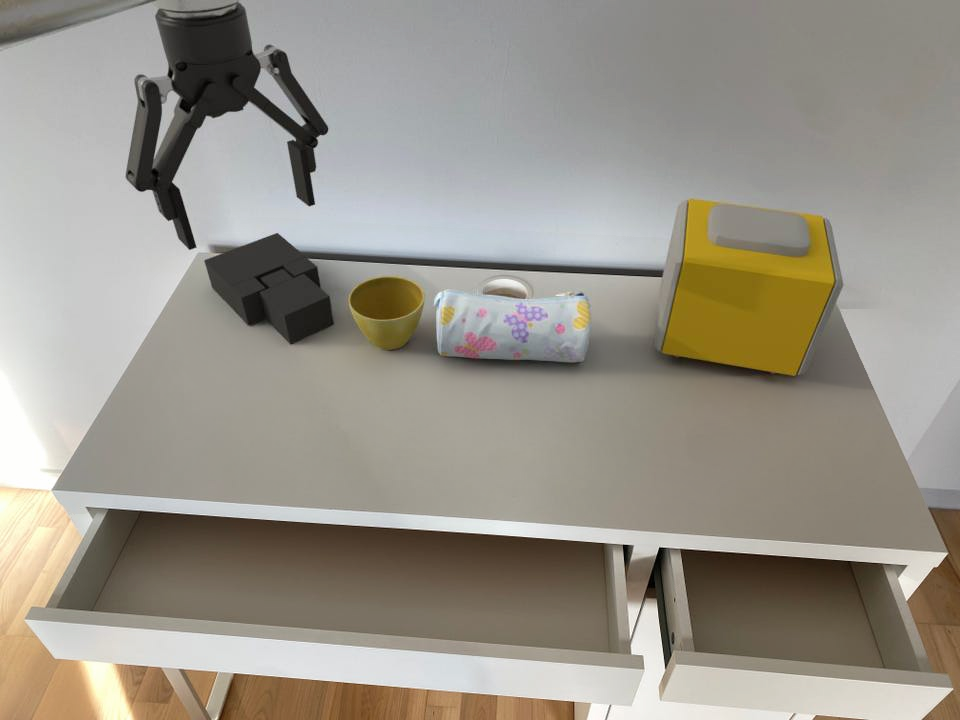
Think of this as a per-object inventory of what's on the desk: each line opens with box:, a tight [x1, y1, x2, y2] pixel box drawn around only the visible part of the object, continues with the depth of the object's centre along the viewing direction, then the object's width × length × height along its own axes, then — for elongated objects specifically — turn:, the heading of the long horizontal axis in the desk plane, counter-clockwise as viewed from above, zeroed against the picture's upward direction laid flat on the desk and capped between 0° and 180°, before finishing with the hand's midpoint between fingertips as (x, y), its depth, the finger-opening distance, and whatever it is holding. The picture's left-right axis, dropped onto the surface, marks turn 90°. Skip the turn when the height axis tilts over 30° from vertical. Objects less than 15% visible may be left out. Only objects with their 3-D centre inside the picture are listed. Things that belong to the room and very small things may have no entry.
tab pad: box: [260, 269, 335, 345], centre depth 102 cm, size 7×10×5 cm
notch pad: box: [203, 232, 322, 327], centre depth 106 cm, size 12×12×5 cm
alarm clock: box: [653, 198, 844, 377], centre depth 95 cm, size 20×16×18 cm
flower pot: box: [348, 275, 426, 351], centre depth 98 cm, size 10×10×7 cm
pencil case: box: [433, 288, 592, 363], centre depth 95 cm, size 21×9×10 cm, turn 89°
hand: (249, 221), depth 76 cm, fingers open, 13 cm apart
